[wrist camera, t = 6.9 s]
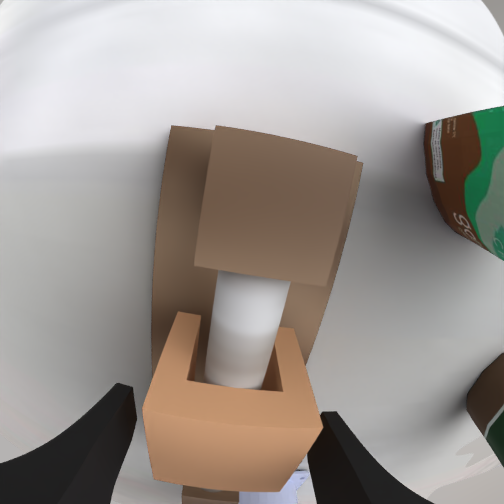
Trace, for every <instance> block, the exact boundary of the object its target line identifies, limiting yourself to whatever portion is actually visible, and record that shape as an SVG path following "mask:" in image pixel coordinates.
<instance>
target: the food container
mask: <svg viewBox="0 0 504 504" xmlns="http://www.w3.org/2000/svg"><path fill="white" fill-rule="evenodd" d="M424 152H425V163H426V175H427V178H428V182H429V185H430V189H431V192H432V196H433V200H434V202H435V204H436V206H437V208H438V210H439V211H440V213H441V215H442V217H443V219H444V221H445V222H446V223H447V224H448V225H449V226H450V227H451V228H452V229H453V230H454V231H455V232H456V233H458V234H460V235H461V236H463V237H465V238H467V239H468V240H470V241H472V242H474V243H475V244H477V245H479V246H480V247H482V248H484V249H485V250H487V251H489V252H490V253H492V254H494V255H495V256H497V257H498V258H500V259H501V260H503V261H504V106H500V107H495V108H490V109H485V110H480V111H475V112H471V113H466V114H462V115H457V116H453V117H449V118H445V119H441V120H437V121H433V122H429V123H426V124H425V136H424Z"/></svg>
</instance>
